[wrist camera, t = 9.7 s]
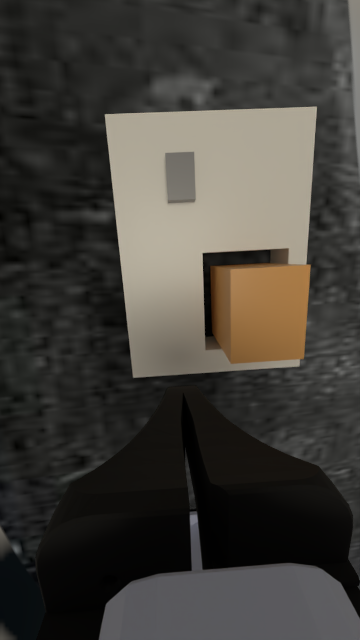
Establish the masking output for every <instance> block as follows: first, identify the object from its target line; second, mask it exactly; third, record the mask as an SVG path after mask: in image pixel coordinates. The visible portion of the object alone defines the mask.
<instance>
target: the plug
mask: <svg viewBox="0 0 360 640" xmlns="http://www.w3.org/2000/svg"><path fill="white" fill-rule="evenodd" d="M210 271H211V314H212V333H213V335H214V336H215V338H216V340H217V341H218V343H219V345H220V347H221V348H222V350H223V352H224V353H225V355H226V357H227V358H228V360H229V362H230V363H231V364H237V363H251V362H266V361H281V360H295V359H304V349H305V335H306V321H307V307H308V293H309V279H310V265H302V264H278V263H255V264H237V265H219V266H210Z"/></svg>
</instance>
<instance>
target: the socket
mask: <svg viewBox="0 0 360 640" xmlns="http://www.w3.org/2000/svg"><path fill="white" fill-rule="evenodd" d="M316 111H317V107H297V108H269V109H241V110H213V111H185V112H157V113H129V114H105V120H106V129H107V139H108V148H109V157H110V166H111V176H112V185H113V194H114V204H115V213H116V222H117V232H118V241H119V250H120V260H121V269H122V278H123V288H124V297H125V306H126V315H127V325H128V334H129V343H130V353H131V362H132V371H133V378H137V377H151V376H165V375H180V374H194V373H208V372H223V371H237V370H252V369H266V368H280V367H295V366H299V364H300V359H295V360H281V361H266V362H251V363H237V364H231V363H230V362H229V360H228V358H227V357H226V355H225V353H224V352H223V350H222V348H221V347H220V345H219V343H218V341H217V340H216V338H215V336H212V337H205V321H204V288H203V255H202V253H220V252H239V251H257V250H270V263H278V264H302V265H306V260H307V245H308V230H309V215H310V200H311V186H312V171H313V156H314V141H315V126H316Z"/></svg>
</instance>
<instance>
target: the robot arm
mask: <svg viewBox="0 0 360 640" xmlns="http://www.w3.org/2000/svg"><path fill="white" fill-rule="evenodd" d="M185 447H186V453H187V458H188V463H189V469H190V474H191V479H192V485H193V490H194V495H195V502H196V509H197V511H194V512H190V509H189V497H188V486H187V478H186V470H185ZM352 530H353V515H352V512H351V509H350V507H349V505H348V503H347V502H346V500H345V499H344V498H343V496H342V495H341V494H340V492H339V491H338V489H337V488H336V487H335V485H334V484H333V483H332V481H331V480H330V479H329V478H328V477H327V476H326V474H325V473H324V472H323V471H322V470H321V468H320V467H319V466H317V465H314V464H311V463H309V462H306V461H303V460H301V459H298V458H295V457H292V456H290V455H287V454H285V453H283V452H281V451H279V450H277V449H274V448H272V447H270V446H268V445H266V444H264V443H262V442H261V441H259V440H257V439H255V438H254V437H252V436H250V435H249V434H247V433H246V432H244V431H242V430H241V429H240V428H238V427H237V426H236V425H234V424H233V423H231V422H230V421H229V420H228V419H226V418H225V417H224V416H223V415H222V414H221V413H220V412H219V411H218V410H217V409H216V408H215V407H214V406H213V405H212V404H211V403H210V402H209V401H208V400H207V399H206V397H205V396H204V395H203V394H202V393H201V391H200V390H199V389H198V387H197V386H196V385H194V386H176V387H168V388H167V389H166V392H165V395H164V397H163V399H162V401H161V403H160V404H159V406H158V408H157V409H156V411H155V413H154V414H153V415H152V417H151V418H150V420H149V421H148V422H147V424H146V425H145V426H144V427H143V429H142V430H141V431H140V432H139V433H138V434H137V435H136V437H135V438H134V439H133V440H132V441H131V442H130V443H129V444H127V445H126V446H125V447H124V448H123V449H122V450H121V451H120V452H118V453H117V454H116V455H115V456H113V457H112V458H111V459H109V460H108V461H106V462H105V463H104V464H102V465H101V466H99V467H98V468H96V469H95V470H93V471H91V472H90V473H88V474H86V475H85V476H83V477H82V478H80V479H78V480H77V481H75V482H73V483H71V484H70V485H69V487H68V489H67V491H66V492H65V494H64V496H63V497H62V499H61V501H60V502H59V504H58V506H57V508H56V510H55V512H54V514H53V516H52V518H51V520H50V522H49V525H48V527H47V529H46V531H45V533H44V536H43V538H42V540H41V542H40V544H39V547H38V550H37V554H36V557H35V561H36V572H37V576H38V581H39V585H40V589H41V593H42V597H43V601H44V605H45V610H46V613H45V616H44V619H43V622H42V625H41V628H40V630H39V633H38V636H37V639H36V640H360V590H359V588H358V587H357V586H359V584H360V580H359V577H358V575H357V573H356V572H355V570H354V568H353V567H352V565H351V563H350V562H349V560H348V555H349V549H350V543H351V536H352Z"/></svg>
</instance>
